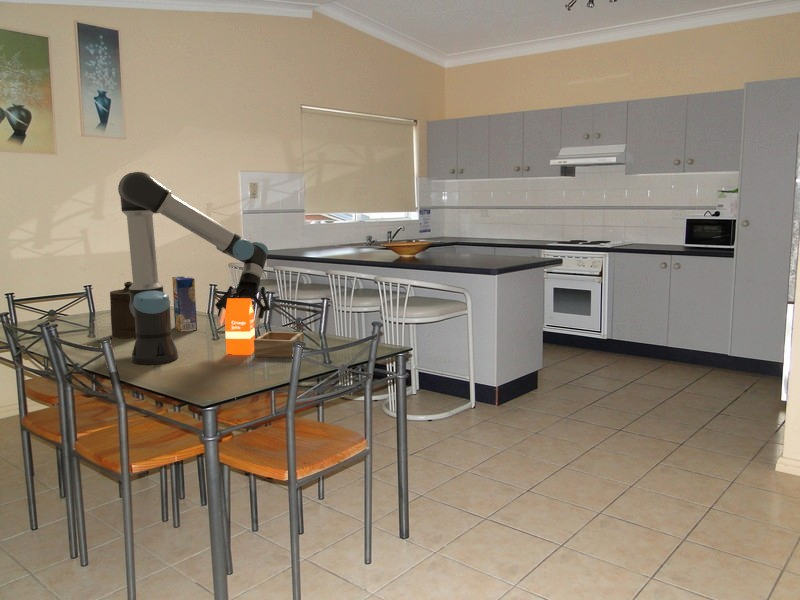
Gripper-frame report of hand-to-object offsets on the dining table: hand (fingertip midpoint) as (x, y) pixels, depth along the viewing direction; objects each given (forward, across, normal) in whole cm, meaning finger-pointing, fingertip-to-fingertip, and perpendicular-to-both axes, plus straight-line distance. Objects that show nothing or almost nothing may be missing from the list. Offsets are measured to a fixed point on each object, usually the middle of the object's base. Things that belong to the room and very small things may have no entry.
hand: (237, 324), depth 242 cm
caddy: (+5, -14, -10) cm, 18 cm away
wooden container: (-11, +56, -26) cm, 63 cm away
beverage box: (-21, +39, -36) cm, 57 cm away
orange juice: (+6, 0, -9) cm, 11 cm away
